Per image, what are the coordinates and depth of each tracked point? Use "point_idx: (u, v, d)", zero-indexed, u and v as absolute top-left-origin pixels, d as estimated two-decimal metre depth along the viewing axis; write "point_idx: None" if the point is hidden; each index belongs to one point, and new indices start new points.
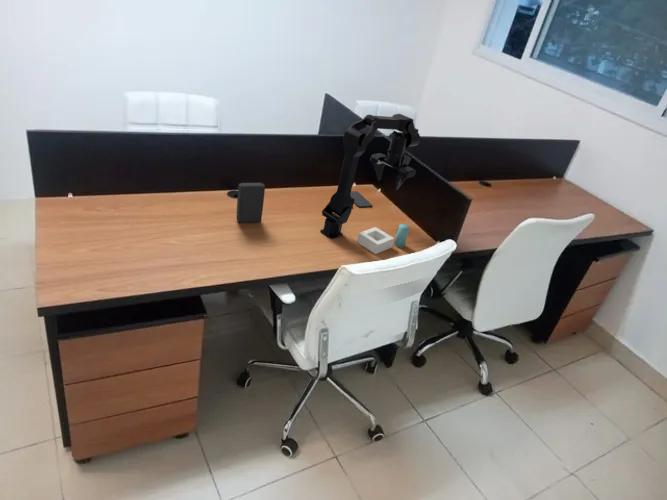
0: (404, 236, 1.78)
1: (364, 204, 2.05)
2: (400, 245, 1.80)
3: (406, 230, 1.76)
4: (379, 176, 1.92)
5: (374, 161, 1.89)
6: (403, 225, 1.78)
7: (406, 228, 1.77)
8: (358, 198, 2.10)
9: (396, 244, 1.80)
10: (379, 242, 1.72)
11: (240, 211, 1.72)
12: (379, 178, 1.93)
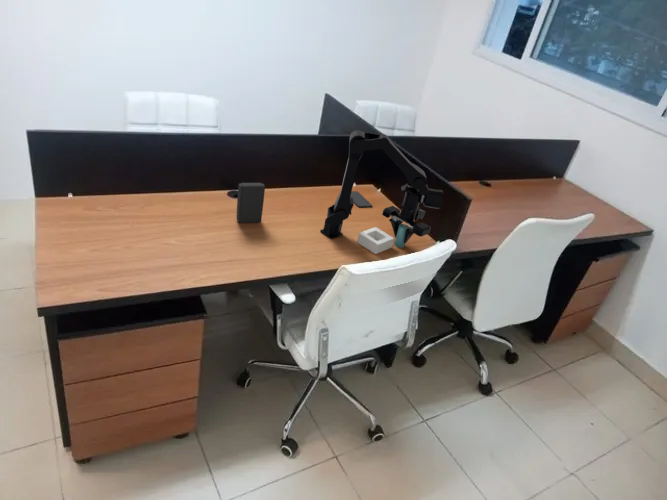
0: (404, 236, 1.78)
1: (364, 204, 2.05)
2: (400, 245, 1.80)
3: None
4: (396, 233, 1.80)
5: (386, 215, 1.78)
6: (403, 225, 1.78)
7: (406, 228, 1.77)
8: (358, 198, 2.10)
9: (396, 244, 1.80)
10: (379, 242, 1.72)
11: (240, 211, 1.72)
12: None
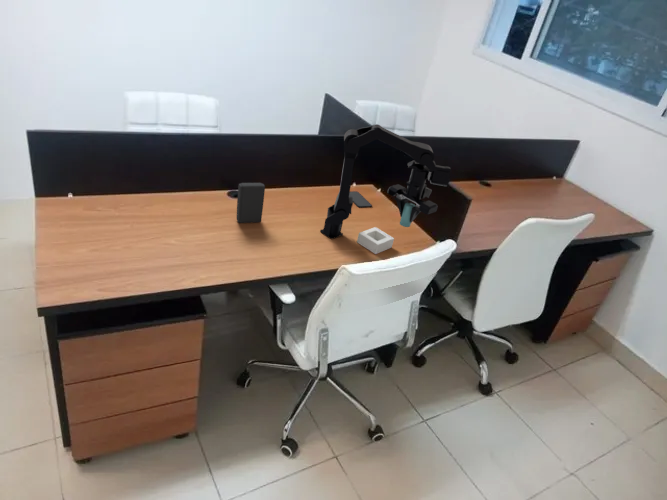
0: (410, 215, 1.73)
1: (364, 204, 2.05)
2: (406, 224, 1.75)
3: None
4: (402, 212, 1.76)
5: (392, 194, 1.74)
6: (409, 204, 1.74)
7: (412, 206, 1.72)
8: (358, 198, 2.10)
9: (402, 223, 1.76)
10: (379, 242, 1.72)
11: (240, 211, 1.72)
12: None
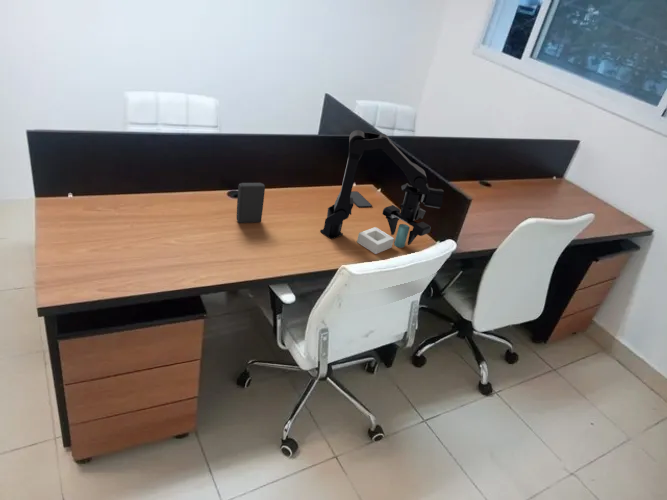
0: (404, 236, 1.78)
1: (364, 204, 2.05)
2: (400, 245, 1.80)
3: (406, 230, 1.76)
4: (393, 230, 1.81)
5: (386, 215, 1.78)
6: (403, 225, 1.78)
7: (406, 228, 1.77)
8: (358, 198, 2.10)
9: (396, 244, 1.80)
10: (379, 242, 1.72)
11: (240, 211, 1.72)
12: (393, 232, 1.82)
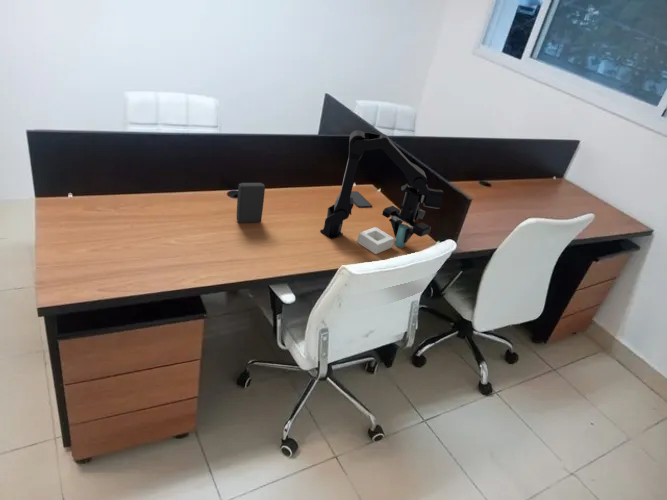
0: (404, 236, 1.78)
1: (363, 204, 2.05)
2: (400, 245, 1.80)
3: None
4: (396, 233, 1.80)
5: (386, 215, 1.78)
6: (403, 225, 1.78)
7: (406, 228, 1.77)
8: (358, 198, 2.10)
9: (396, 244, 1.80)
10: (379, 242, 1.72)
11: (240, 211, 1.72)
12: None
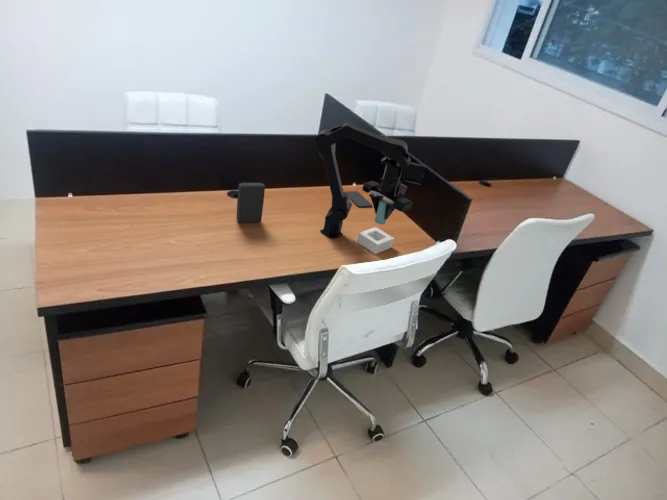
0: None
1: (363, 204, 2.05)
2: (381, 222, 1.71)
3: None
4: None
5: (366, 190, 1.70)
6: (384, 200, 1.70)
7: (387, 203, 1.69)
8: (358, 198, 2.10)
9: (376, 221, 1.72)
10: (379, 242, 1.72)
11: (240, 211, 1.72)
12: None
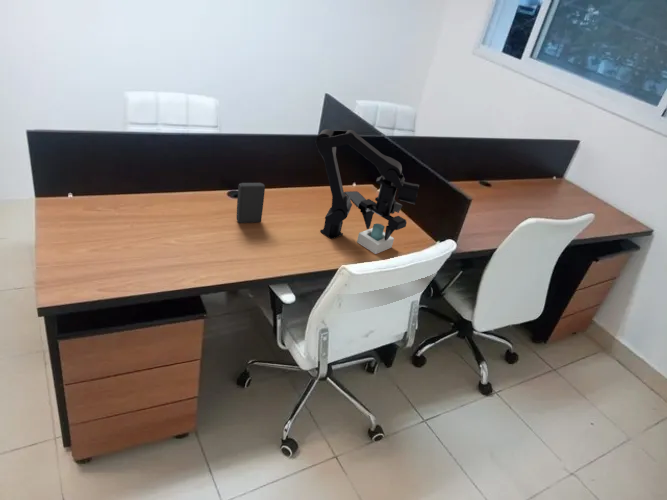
0: (378, 236, 1.75)
1: None
2: None
3: (380, 230, 1.73)
4: (368, 224, 1.77)
5: (362, 209, 1.74)
6: (378, 225, 1.75)
7: (380, 228, 1.74)
8: (358, 198, 2.10)
9: None
10: (379, 242, 1.72)
11: (240, 211, 1.72)
12: (368, 226, 1.78)
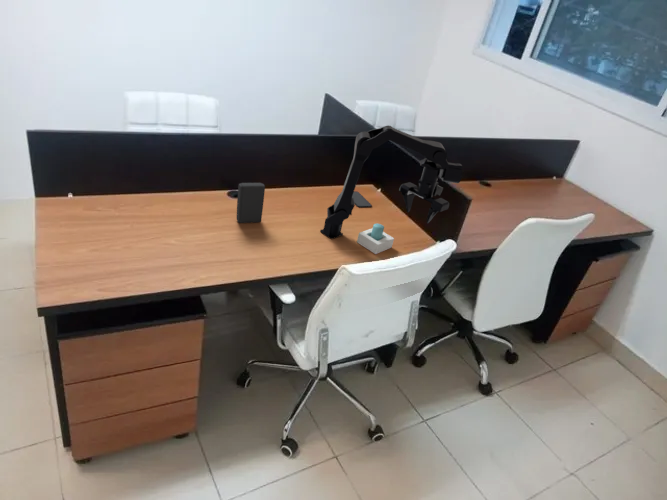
0: (378, 236, 1.75)
1: (363, 204, 2.05)
2: None
3: (380, 230, 1.73)
4: (408, 207, 1.78)
5: (404, 191, 1.75)
6: (377, 225, 1.75)
7: (380, 228, 1.74)
8: (358, 198, 2.10)
9: None
10: (379, 242, 1.72)
11: (240, 211, 1.72)
12: (408, 209, 1.79)
